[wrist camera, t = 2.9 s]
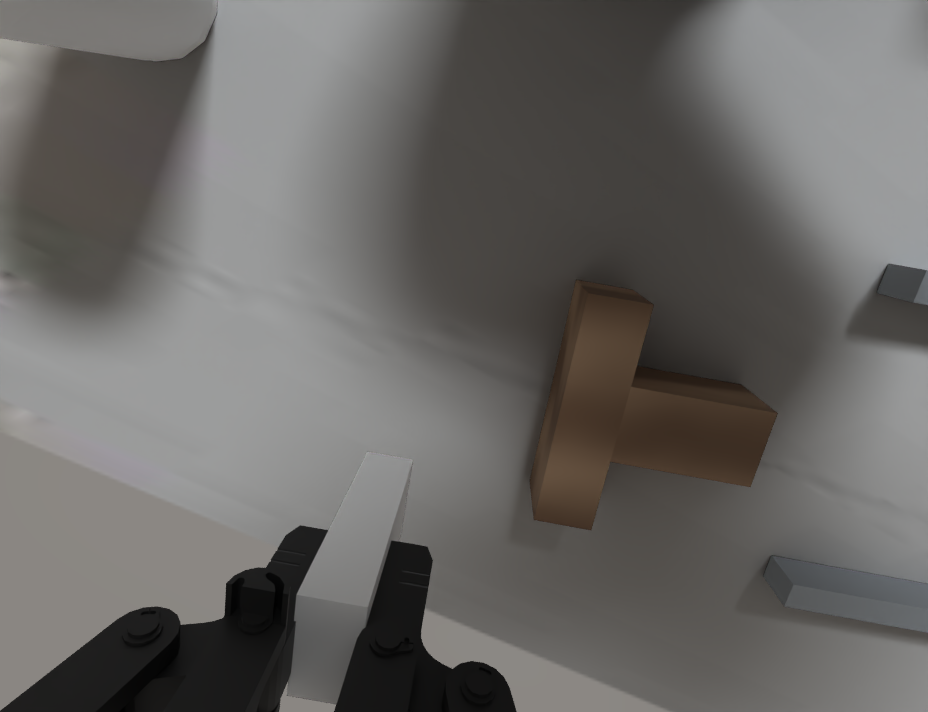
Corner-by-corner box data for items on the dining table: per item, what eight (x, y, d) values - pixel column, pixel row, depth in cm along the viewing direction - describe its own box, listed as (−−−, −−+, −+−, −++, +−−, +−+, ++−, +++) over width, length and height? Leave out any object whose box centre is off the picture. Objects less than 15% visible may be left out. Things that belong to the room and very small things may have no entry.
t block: (576, 279, 28) (588, 293, 24) (765, 313, 28) (807, 332, 24) (529, 480, 32) (533, 519, 28) (697, 511, 32) (725, 554, 28)
